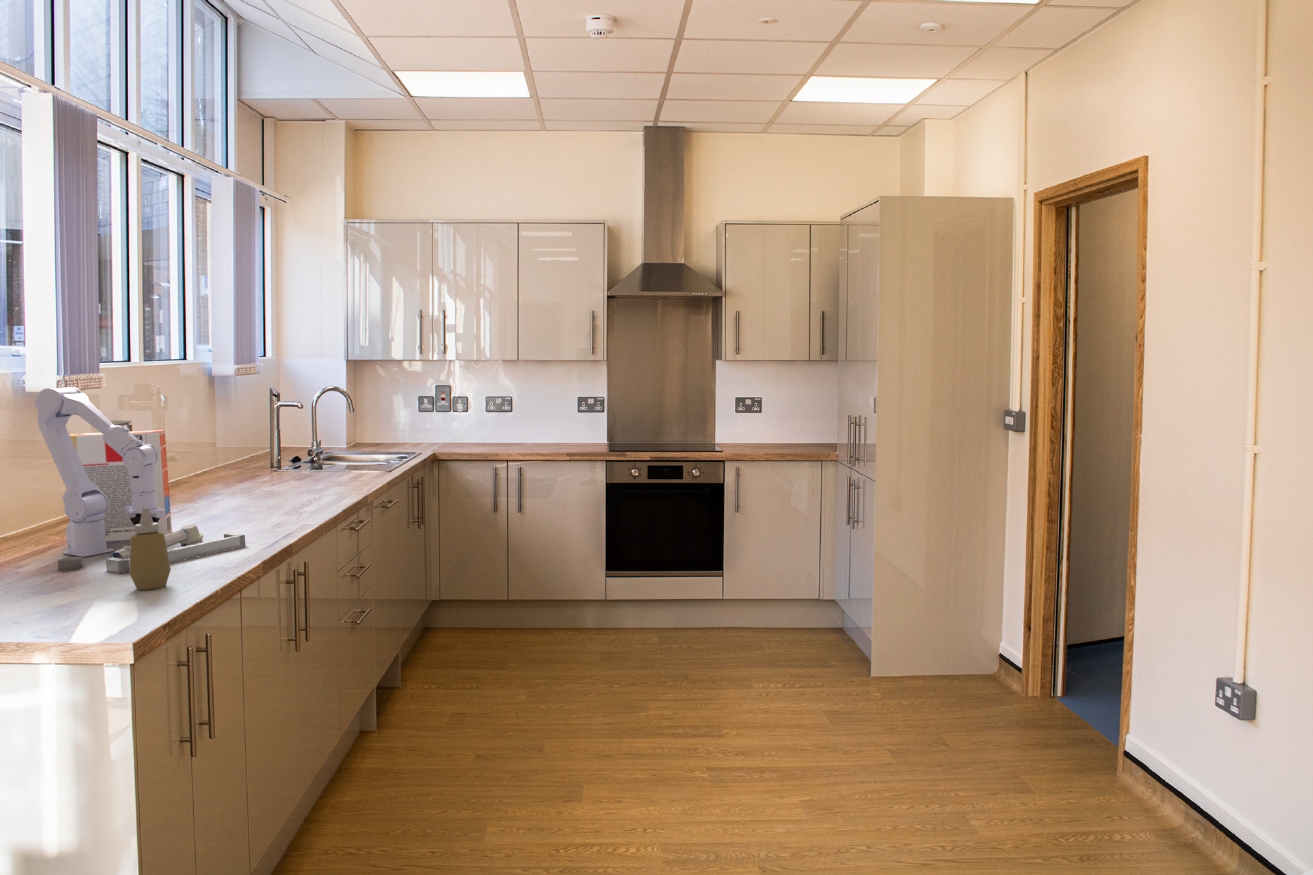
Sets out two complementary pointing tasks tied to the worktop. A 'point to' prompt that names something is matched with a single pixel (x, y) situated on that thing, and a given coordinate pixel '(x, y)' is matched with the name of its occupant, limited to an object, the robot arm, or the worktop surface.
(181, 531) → the white handheld wand
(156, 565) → the squeeze bottle
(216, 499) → the worktop surface
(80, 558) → the smooth gray pebble
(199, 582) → the worktop surface
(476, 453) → the worktop surface
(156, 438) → the pasta box
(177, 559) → the curved pull handle
